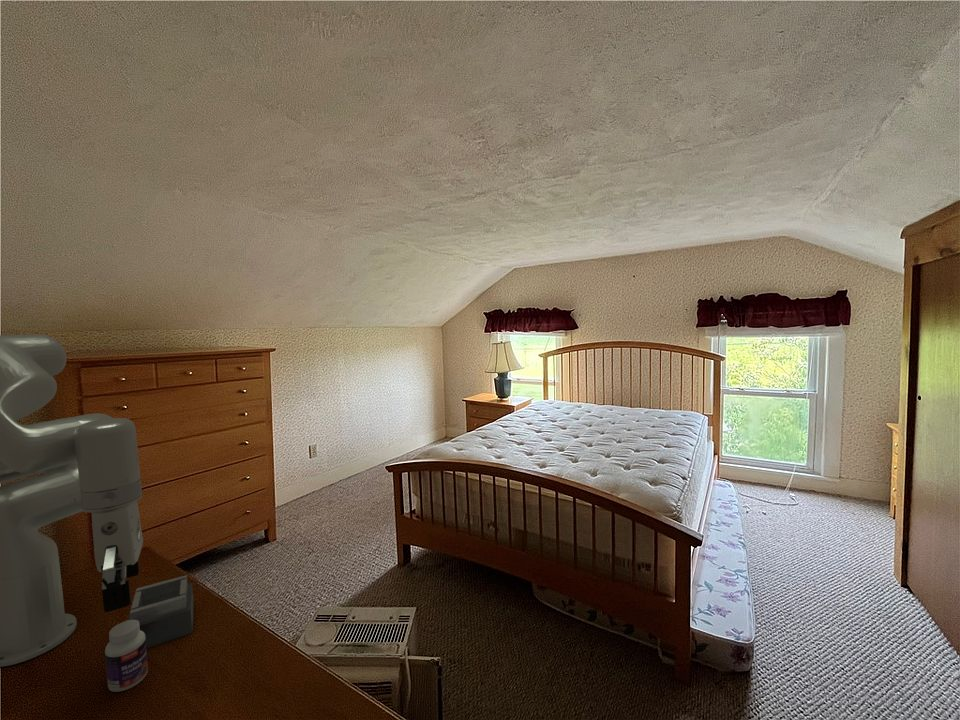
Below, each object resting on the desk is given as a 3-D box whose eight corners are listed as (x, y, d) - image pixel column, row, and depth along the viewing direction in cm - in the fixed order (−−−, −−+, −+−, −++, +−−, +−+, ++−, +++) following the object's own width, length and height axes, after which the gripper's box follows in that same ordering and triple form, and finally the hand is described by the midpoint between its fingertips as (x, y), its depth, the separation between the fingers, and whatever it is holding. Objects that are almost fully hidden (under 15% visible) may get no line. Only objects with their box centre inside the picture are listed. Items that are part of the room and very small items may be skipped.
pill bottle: (125, 696, 70) (120, 641, 69) (99, 690, 71) (94, 636, 70) (156, 669, 76) (152, 618, 74) (131, 664, 77) (127, 614, 76)
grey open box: (127, 654, 79) (124, 617, 78) (135, 622, 87) (132, 587, 86) (192, 633, 84) (189, 597, 83) (193, 604, 92) (191, 572, 92)
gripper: (134, 507, 65) (144, 612, 66) (147, 473, 79) (155, 560, 81) (67, 520, 61) (80, 632, 62) (93, 482, 75) (104, 573, 77)
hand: (123, 591), depth 72 cm, fingers open, 9 cm apart
